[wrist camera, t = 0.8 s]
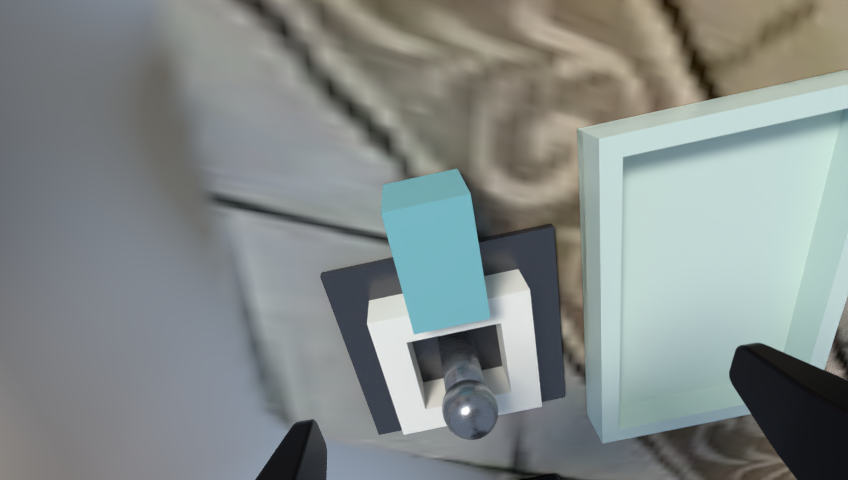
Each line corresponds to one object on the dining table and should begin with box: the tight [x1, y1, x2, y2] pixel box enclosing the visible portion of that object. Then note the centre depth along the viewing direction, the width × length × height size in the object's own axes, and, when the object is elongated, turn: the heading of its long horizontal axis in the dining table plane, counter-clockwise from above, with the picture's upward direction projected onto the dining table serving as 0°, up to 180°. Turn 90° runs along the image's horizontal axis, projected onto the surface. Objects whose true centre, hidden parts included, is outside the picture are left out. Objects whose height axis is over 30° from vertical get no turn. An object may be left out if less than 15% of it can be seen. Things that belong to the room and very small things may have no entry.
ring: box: [367, 169, 542, 435], centre depth 20 cm, size 14×8×4 cm, turn 12°
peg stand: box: [320, 224, 565, 440], centre depth 21 cm, size 12×12×6 cm
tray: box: [577, 70, 848, 444], centre depth 22 cm, size 19×13×2 cm
